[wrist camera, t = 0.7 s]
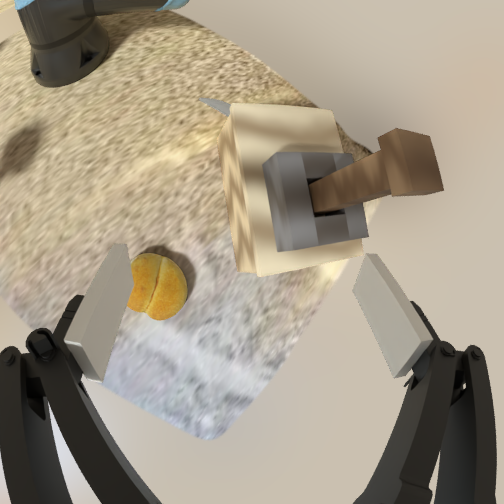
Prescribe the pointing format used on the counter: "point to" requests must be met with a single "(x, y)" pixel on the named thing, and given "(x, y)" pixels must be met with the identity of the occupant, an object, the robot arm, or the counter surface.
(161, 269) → the bread roll
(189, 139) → the counter surface
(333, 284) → the counter surface
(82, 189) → the counter surface
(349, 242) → the tan two-tone block
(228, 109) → the chef's knife
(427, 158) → the brown t-shaped block
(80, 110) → the counter surface
